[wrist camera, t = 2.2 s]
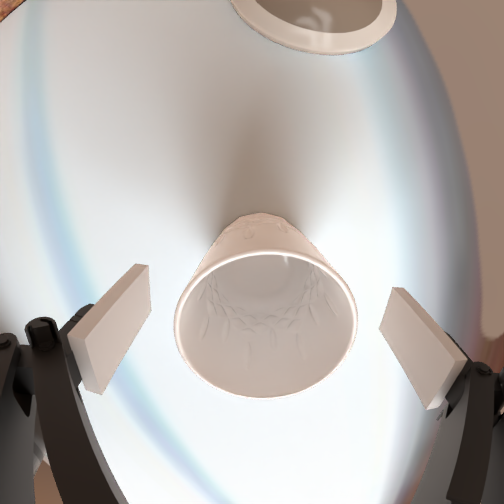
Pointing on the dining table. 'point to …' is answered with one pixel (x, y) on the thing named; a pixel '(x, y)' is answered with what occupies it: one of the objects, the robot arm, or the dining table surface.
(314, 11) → the beige saucer
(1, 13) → the book
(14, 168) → the dining table surface
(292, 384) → the white cup
